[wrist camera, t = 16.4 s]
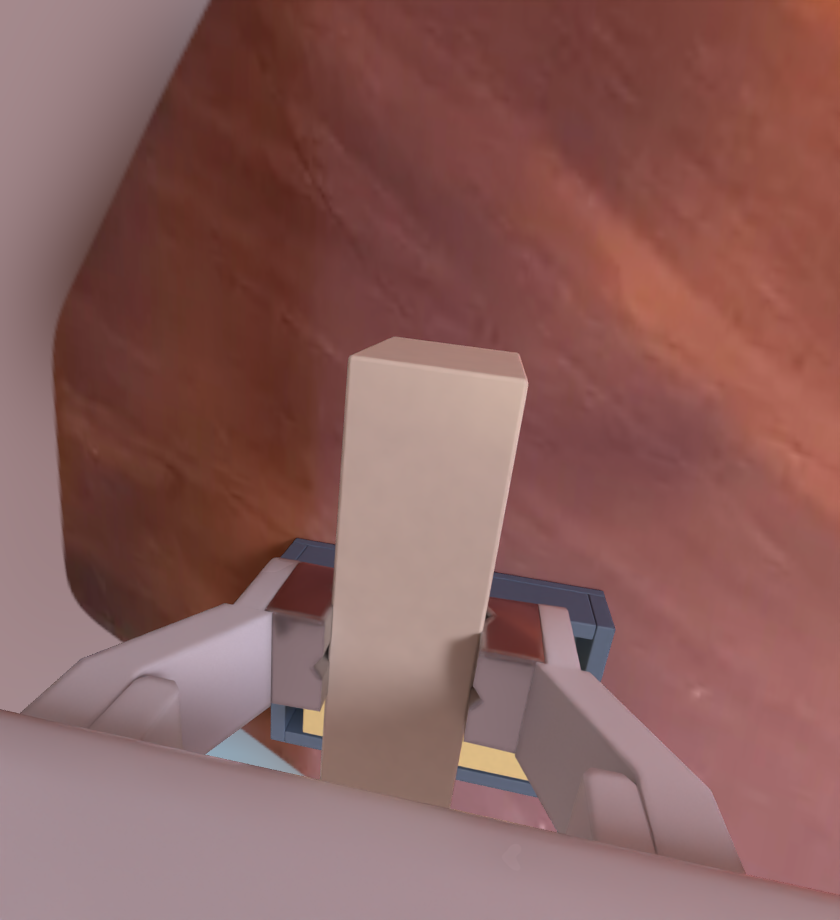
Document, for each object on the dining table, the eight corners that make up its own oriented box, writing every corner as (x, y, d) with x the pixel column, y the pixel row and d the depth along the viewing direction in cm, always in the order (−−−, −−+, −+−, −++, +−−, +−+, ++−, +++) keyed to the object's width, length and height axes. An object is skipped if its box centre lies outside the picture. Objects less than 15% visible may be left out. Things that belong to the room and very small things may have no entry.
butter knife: (392, 335, 10) (347, 354, 7) (520, 352, 9) (530, 379, 7) (326, 1037, 17) (291, 1185, 14) (396, 1057, 17) (375, 1211, 14)
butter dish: (291, 697, 30) (270, 739, 27) (296, 537, 27) (271, 567, 24) (560, 753, 28) (566, 804, 26) (603, 590, 25) (616, 629, 22)
